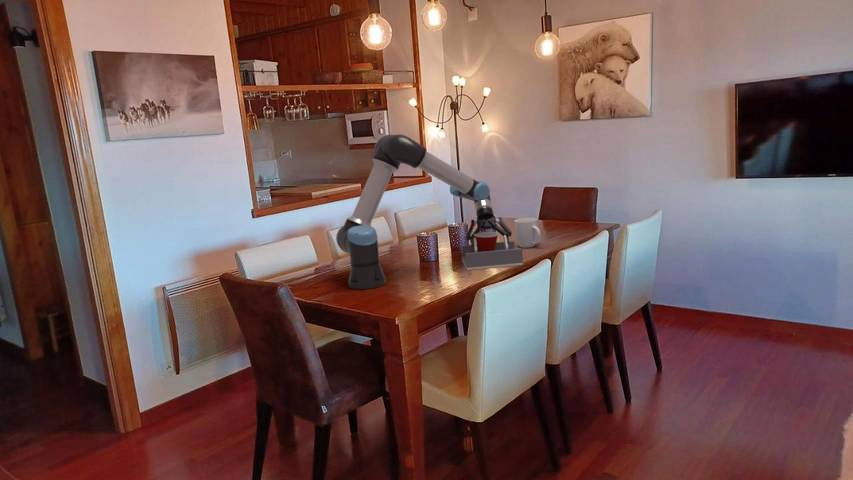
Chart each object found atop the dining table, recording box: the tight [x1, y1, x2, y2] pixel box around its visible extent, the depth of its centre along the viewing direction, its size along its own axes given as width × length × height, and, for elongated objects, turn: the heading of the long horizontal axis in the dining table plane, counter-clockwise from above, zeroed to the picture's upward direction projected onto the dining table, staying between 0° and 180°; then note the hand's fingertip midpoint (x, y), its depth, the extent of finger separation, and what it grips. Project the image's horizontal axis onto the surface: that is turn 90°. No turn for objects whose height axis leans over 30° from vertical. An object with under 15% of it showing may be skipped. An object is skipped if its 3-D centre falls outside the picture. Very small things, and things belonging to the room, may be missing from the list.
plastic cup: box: [474, 231, 500, 252], centre depth 258 cm, size 11×11×12 cm
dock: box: [461, 240, 524, 271], centre depth 258 cm, size 24×18×7 cm
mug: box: [514, 217, 542, 249], centre depth 282 cm, size 15×11×13 cm
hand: (491, 250), depth 255 cm, fingers open, 13 cm apart
